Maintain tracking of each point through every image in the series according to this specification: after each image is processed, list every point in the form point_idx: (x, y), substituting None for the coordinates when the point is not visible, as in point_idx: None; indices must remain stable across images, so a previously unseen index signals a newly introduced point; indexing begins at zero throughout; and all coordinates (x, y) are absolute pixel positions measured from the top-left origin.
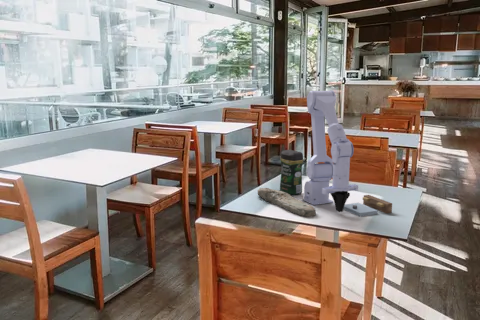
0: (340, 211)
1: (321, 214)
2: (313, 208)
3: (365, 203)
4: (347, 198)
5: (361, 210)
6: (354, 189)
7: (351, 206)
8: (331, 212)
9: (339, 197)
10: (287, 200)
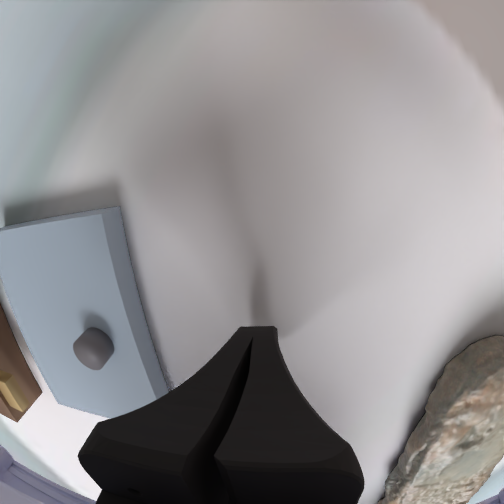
0: (262, 328)
1: (406, 360)
2: (457, 408)
3: (30, 383)
4: (145, 406)
5: (68, 276)
6: (11, 467)
7: (110, 381)
8: (301, 378)
9: (329, 440)
10: (450, 498)
